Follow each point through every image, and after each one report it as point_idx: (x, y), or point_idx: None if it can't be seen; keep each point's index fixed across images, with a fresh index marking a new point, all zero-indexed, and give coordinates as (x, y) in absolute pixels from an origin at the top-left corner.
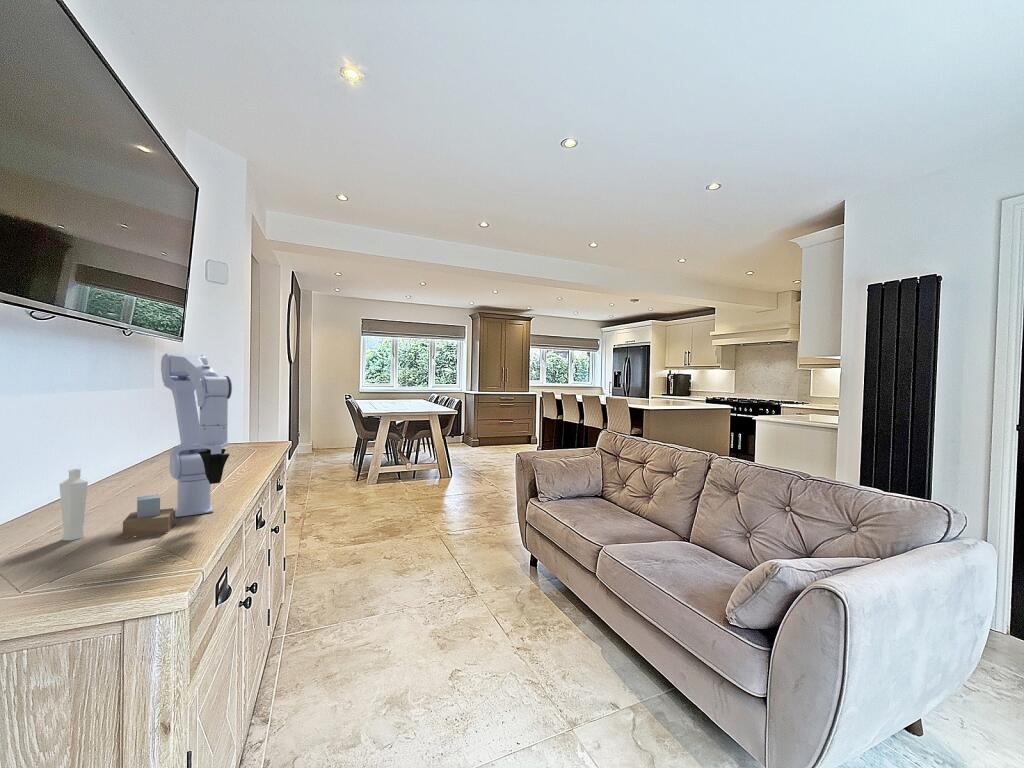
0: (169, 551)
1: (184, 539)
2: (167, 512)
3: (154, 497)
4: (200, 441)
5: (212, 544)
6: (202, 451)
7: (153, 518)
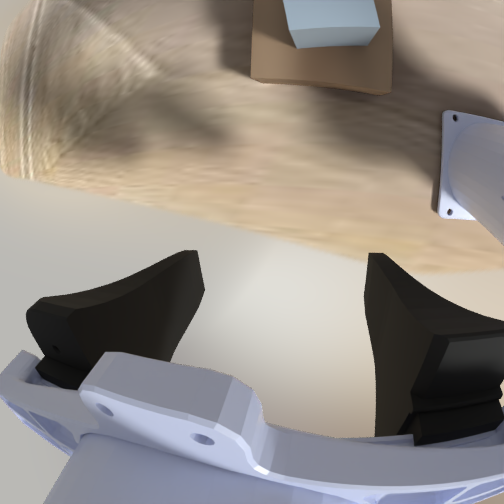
0: (102, 117)
1: (171, 131)
2: (327, 70)
3: (307, 9)
4: (91, 473)
5: (112, 193)
6: (459, 369)
7: (252, 35)
